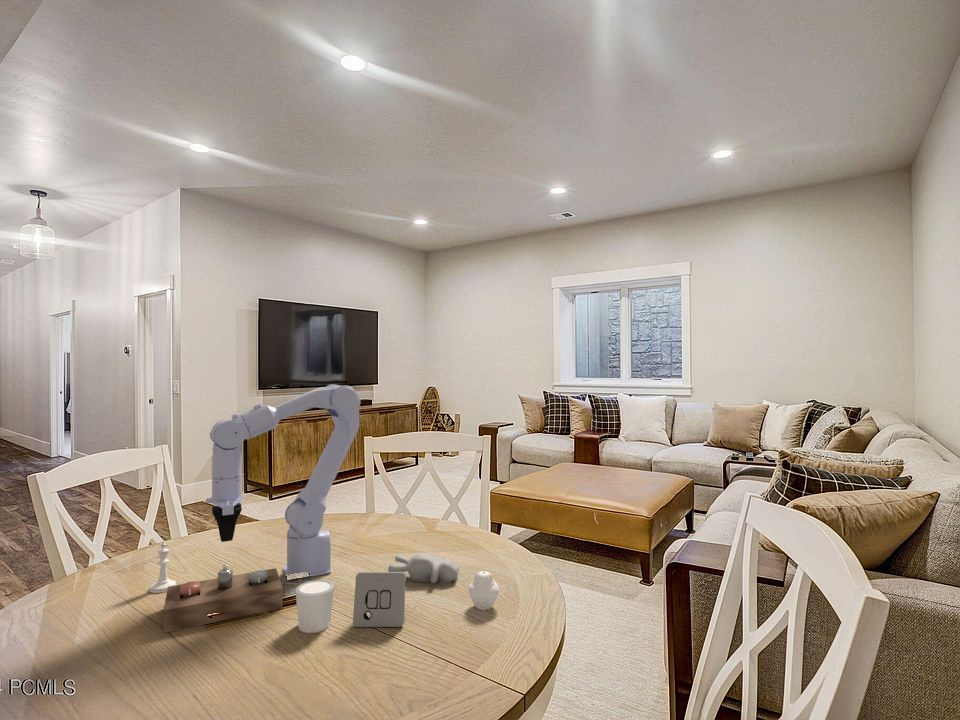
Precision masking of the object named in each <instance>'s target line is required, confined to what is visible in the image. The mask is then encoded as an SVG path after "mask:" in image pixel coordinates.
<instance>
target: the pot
mask: <svg viewBox="0 0 960 720" xmlns="http://www.w3.org/2000/svg"><path fill="white" fill-rule="evenodd" d="M228 567H229V566H228V564H223V565H222V569H220V570H219V571H218V572H217V578H218V590H227V589H230V588H231V587H232V576H233V569H231V568H228Z"/></svg>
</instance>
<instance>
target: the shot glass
mask: <svg viewBox="0 0 960 720" xmlns="http://www.w3.org/2000/svg"><path fill="white" fill-rule="evenodd" d="M334 589H335V583H334V582H332V581H330V580H328V579H327V580H326V579H315V580H309V581H305V582H303V583H301V584H298V586H296V587H295V592H294V593H295V600H296V609H297V610H296V613H297V623H298V624H297V625H298V629H299V631H300V632H302V633H306V634H309V633H310V634H313V633H319V632H322V631H325V630H326V629H328V628H329V627H330V626H331V621H332V612H333V601H334V594H335V593H334V592H335V590H334Z"/></svg>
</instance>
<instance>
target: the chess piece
mask: <svg viewBox="0 0 960 720" xmlns="http://www.w3.org/2000/svg"><path fill="white" fill-rule="evenodd" d="M158 545H159V547H161V549H159V550H158V551H157V553H158V555H159V560H158V561H157V564H158V565H160V569H159V574H158V575H159V576H158V580H156V582H154V583H152V584H151V585H150V587H149V592H150V593H152V594H160V593H162V594H163V593H167V589H168V587H169V586H174V585H177V582H176V580H173V579H170V578H169V577H168V571H167V570H168V569H167V564H168V563H169V562H170V560H169V559H167V558H168V555H169V554H168V553H169V552H170V549H168V548H167V547H168V546H169V544H168V543H166V541H165V540H162V541H161V543H159V544H158Z"/></svg>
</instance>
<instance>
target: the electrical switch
mask: <svg viewBox="0 0 960 720" xmlns="http://www.w3.org/2000/svg"><path fill="white" fill-rule="evenodd" d="M406 582H407V574H406V573H405V572H389V571H359V572H358V573H356V575H355V588H354V603H353V619H352V624H353V627H354V628H355V627H356V628H370V627H371V628H401V627H402V626H404V625H405V614H406V613H405V612H406V611H405V610H406V607H405V603H406V601H405V600H406V599H405V598H406ZM367 613H369V614H370V617H369V616H368V614H367Z"/></svg>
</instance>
